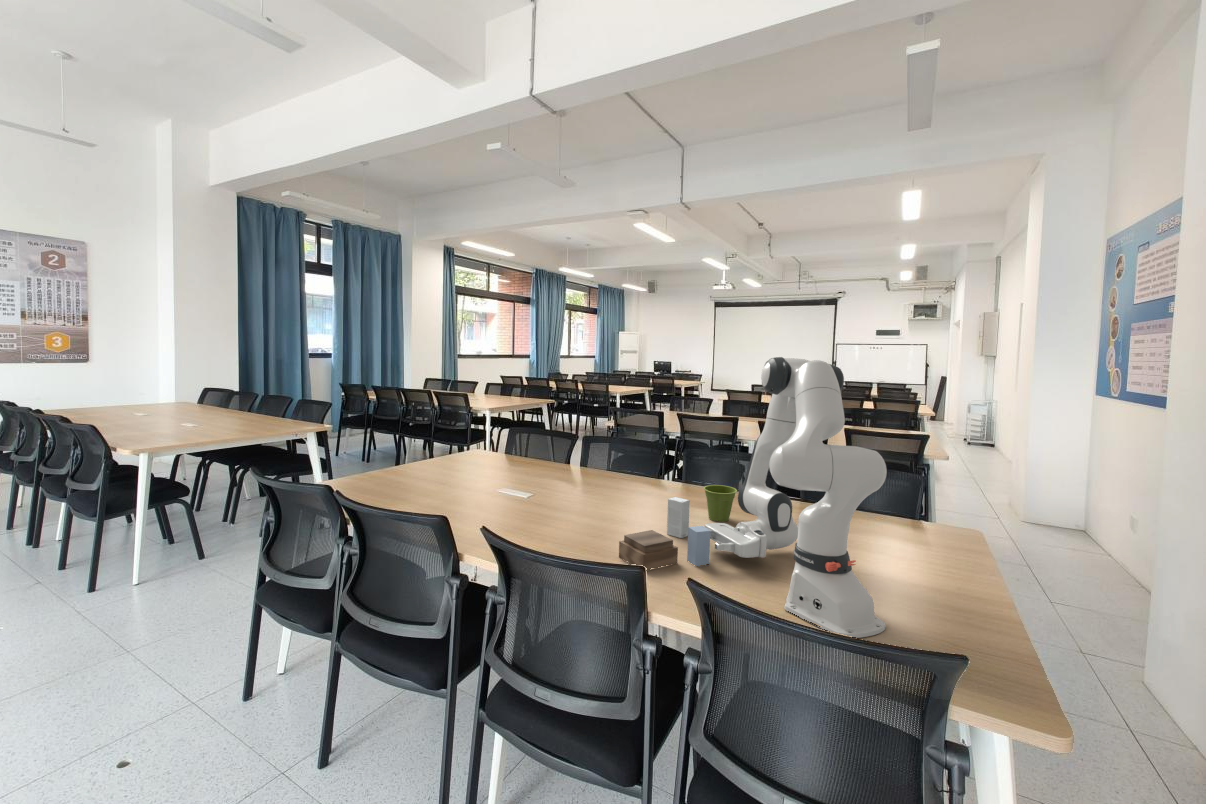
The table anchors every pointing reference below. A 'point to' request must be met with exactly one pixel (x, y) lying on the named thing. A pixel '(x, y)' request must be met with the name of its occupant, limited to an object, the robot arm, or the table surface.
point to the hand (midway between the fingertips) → (707, 541)
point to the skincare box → (678, 517)
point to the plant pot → (719, 501)
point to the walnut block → (648, 549)
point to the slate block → (698, 545)
